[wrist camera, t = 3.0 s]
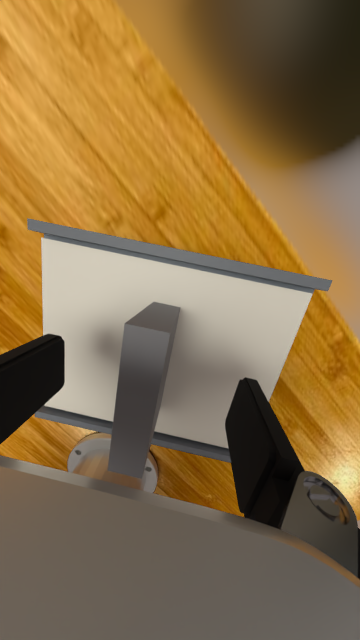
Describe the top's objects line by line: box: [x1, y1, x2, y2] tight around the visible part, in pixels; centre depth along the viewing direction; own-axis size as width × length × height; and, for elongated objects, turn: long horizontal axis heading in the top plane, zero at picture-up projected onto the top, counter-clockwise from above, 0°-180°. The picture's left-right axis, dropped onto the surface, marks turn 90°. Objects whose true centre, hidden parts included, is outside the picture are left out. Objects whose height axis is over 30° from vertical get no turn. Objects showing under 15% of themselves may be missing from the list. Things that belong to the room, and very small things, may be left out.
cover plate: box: [41, 238, 312, 479], centre depth 11 cm, size 13×17×6 cm
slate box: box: [27, 218, 332, 463], centre depth 16 cm, size 15×18×7 cm
